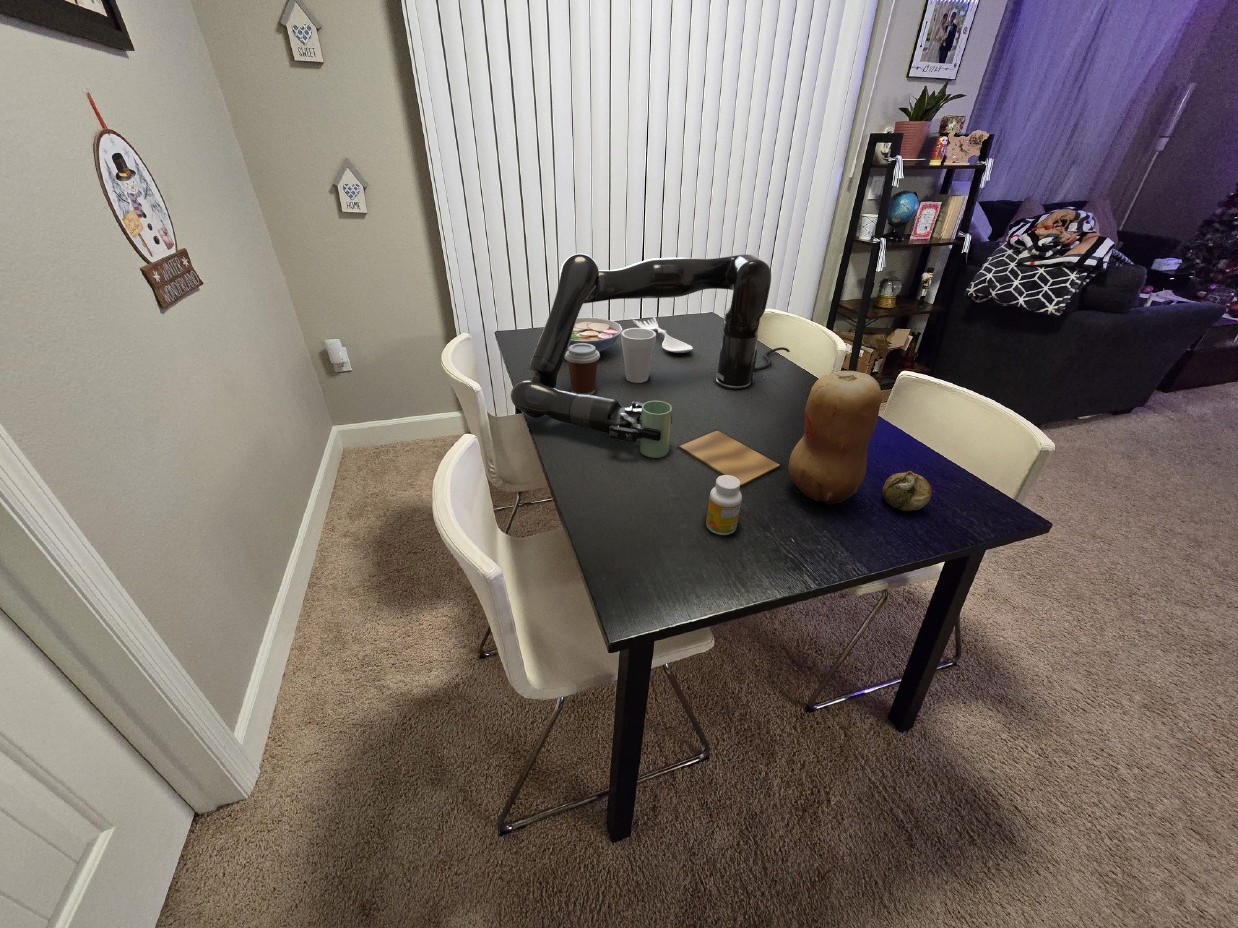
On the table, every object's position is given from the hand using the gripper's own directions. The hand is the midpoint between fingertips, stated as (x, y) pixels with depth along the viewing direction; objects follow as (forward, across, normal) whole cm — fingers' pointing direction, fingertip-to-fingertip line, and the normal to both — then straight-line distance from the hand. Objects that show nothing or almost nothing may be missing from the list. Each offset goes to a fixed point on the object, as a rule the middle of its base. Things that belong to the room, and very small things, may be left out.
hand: (666, 428), depth 106 cm
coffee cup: (-30, +21, +6) cm, 37 cm away
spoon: (-23, +66, +6) cm, 71 cm away
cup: (-2, 0, +6) cm, 6 cm away
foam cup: (-20, +34, +6) cm, 40 cm away
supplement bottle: (+17, -19, +6) cm, 27 cm away
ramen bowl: (-42, +48, +6) cm, 64 cm away
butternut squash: (+32, -3, +6) cm, 33 cm away
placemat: (+13, +4, +6) cm, 15 cm away
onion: (+47, 0, +6) cm, 47 cm away
